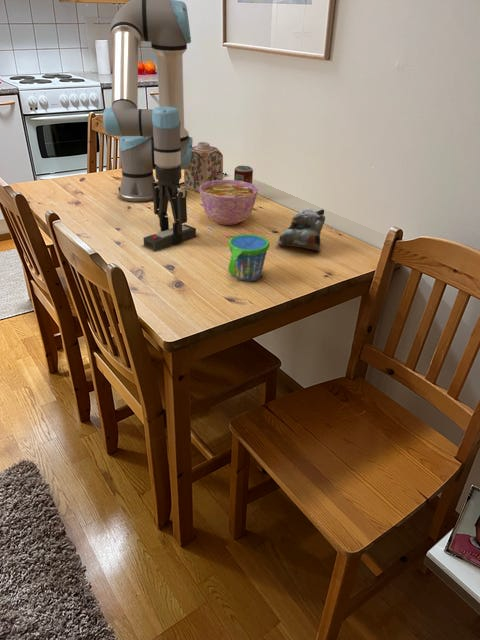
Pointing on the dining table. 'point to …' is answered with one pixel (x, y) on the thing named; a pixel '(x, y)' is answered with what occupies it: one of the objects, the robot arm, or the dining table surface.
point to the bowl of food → (228, 200)
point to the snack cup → (247, 256)
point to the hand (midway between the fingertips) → (171, 240)
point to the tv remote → (167, 237)
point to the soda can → (243, 174)
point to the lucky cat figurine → (304, 230)
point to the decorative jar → (203, 166)
